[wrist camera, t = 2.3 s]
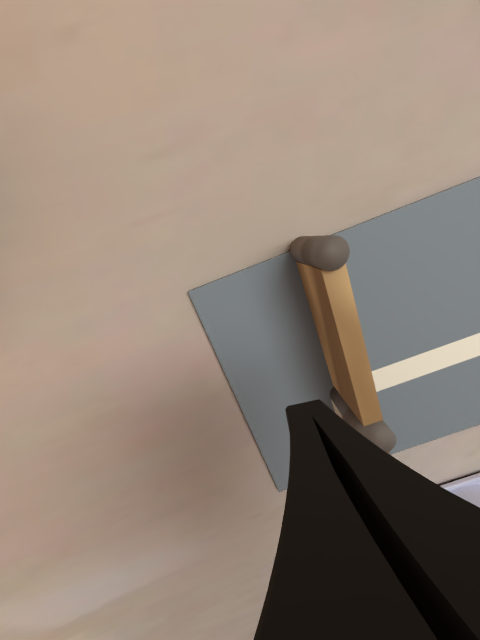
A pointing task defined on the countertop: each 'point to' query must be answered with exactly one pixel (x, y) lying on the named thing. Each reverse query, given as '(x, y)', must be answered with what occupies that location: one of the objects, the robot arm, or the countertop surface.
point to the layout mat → (362, 326)
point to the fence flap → (337, 321)
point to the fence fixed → (373, 432)
